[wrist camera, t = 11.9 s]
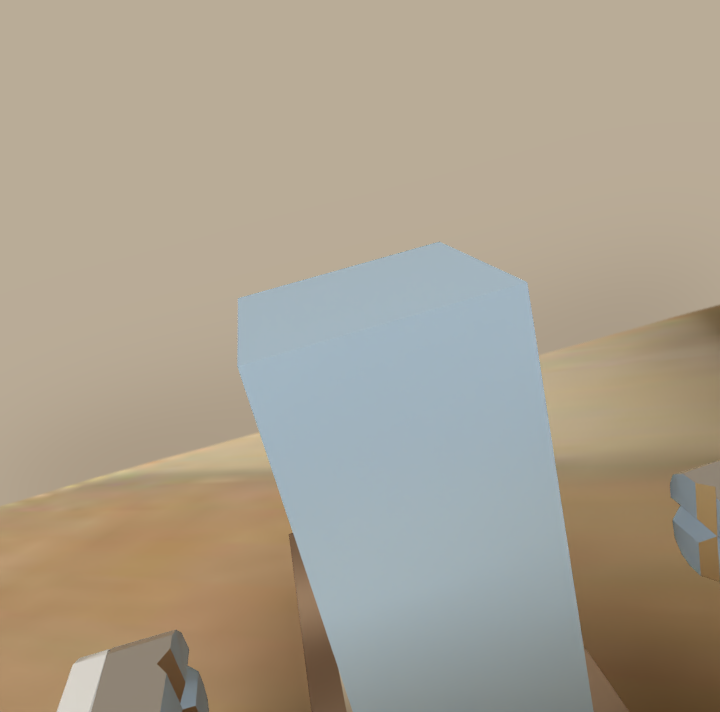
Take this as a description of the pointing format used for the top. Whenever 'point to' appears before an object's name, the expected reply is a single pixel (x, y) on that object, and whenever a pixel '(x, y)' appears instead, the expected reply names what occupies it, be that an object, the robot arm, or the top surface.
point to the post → (420, 481)
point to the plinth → (324, 674)
